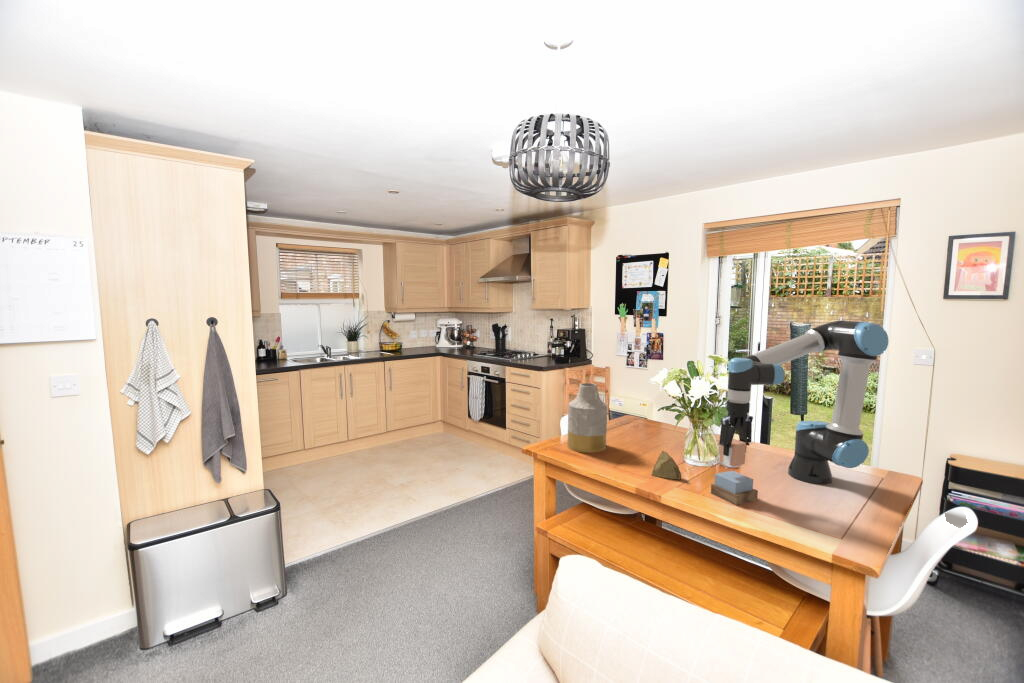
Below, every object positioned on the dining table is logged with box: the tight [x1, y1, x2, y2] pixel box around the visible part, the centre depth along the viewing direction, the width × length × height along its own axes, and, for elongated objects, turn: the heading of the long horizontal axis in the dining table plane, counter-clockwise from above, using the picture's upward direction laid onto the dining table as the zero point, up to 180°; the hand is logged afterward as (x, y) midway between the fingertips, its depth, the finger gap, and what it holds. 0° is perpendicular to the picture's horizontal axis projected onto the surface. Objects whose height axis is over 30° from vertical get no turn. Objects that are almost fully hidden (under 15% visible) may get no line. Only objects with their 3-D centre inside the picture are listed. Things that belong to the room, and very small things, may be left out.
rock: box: [650, 450, 682, 480], centre depth 188 cm, size 11×9×10 cm
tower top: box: [714, 470, 754, 494], centre depth 171 cm, size 9×9×4 cm
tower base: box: [710, 483, 759, 506], centre depth 171 cm, size 11×11×4 cm
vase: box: [567, 382, 608, 454], centre depth 223 cm, size 18×18×30 cm
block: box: [719, 438, 747, 468], centre depth 171 cm, size 6×6×8 cm
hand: (734, 462), depth 170 cm, fingers closed on block, 6 cm apart
